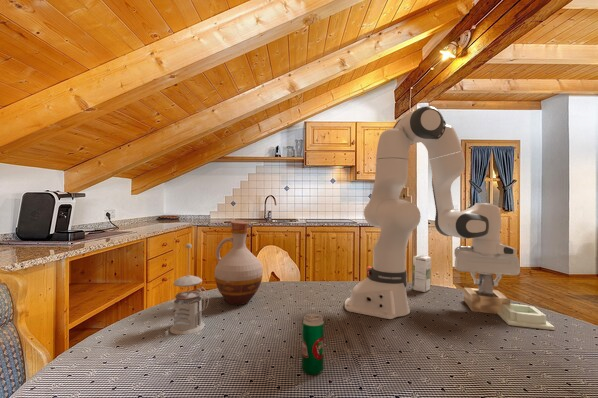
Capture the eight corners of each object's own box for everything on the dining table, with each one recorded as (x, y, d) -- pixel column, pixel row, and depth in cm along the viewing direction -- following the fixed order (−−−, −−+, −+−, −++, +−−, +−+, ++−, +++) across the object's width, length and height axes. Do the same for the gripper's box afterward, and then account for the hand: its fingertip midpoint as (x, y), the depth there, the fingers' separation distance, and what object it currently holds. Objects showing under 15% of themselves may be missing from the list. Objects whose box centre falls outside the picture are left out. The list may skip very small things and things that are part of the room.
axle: (480, 308, 105) (480, 275, 105) (476, 304, 110) (476, 272, 110) (494, 310, 104) (495, 276, 104) (490, 305, 109) (490, 273, 109)
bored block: (472, 311, 103) (472, 296, 103) (463, 300, 114) (463, 287, 114) (510, 315, 100) (510, 300, 100) (497, 303, 111) (497, 290, 111)
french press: (185, 318, 94) (186, 240, 94) (216, 324, 90) (217, 242, 90) (162, 331, 85) (163, 244, 85) (195, 338, 81) (196, 247, 81)
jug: (199, 304, 106) (200, 221, 106) (229, 290, 123) (230, 218, 123) (245, 313, 99) (246, 224, 99) (270, 297, 115) (271, 220, 115)
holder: (508, 324, 92) (508, 313, 92) (494, 310, 104) (494, 301, 104) (554, 330, 89) (554, 318, 89) (534, 315, 100) (535, 304, 100)
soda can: (300, 363, 69) (301, 312, 69) (321, 363, 69) (322, 312, 69) (302, 376, 64) (303, 321, 64) (325, 376, 64) (326, 321, 64)
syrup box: (417, 286, 131) (417, 254, 131) (431, 289, 127) (431, 256, 127) (412, 289, 127) (412, 256, 127) (425, 292, 123) (426, 258, 123)
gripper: (456, 246, 107) (456, 284, 107) (522, 250, 101) (521, 290, 101) (452, 244, 113) (452, 280, 113) (514, 247, 107) (514, 285, 107)
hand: (485, 285), depth 107 cm, fingers closed on axle, 4 cm apart
